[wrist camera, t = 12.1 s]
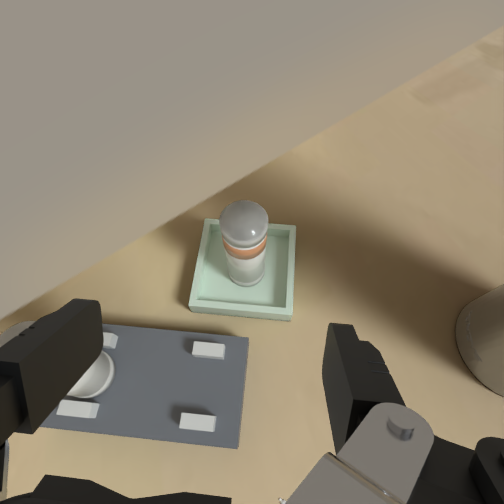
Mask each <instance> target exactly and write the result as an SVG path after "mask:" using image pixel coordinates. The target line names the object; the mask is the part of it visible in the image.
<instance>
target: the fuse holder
mask: <svg viewBox="0 0 504 504" xmlns="http://www.w3.org/2000/svg"><path fill="white" fill-rule="evenodd" d="M102 327H103V337H104V343H103V348H102V351H104V352H106V353H108V354H109V355H110V356H111V357H112V358H113V360H114V362H115V365H116V374H115V378H114V380H113V382H112V384H111V386H110V387H109V388H108V389H107V390H106V391H105V392H104V393H103V394H101V395H99V396H97V397H95V398H89V399H87V398H79V397H75V396H69V395H66V396H65V397H64V398H63V399H62V401H61V402H60V403H59V404H58V405H57V406H56V408H55V409H54V410H53V411H52V412H51V413H50V415H49V416H48V417H47V418H46V419H45V421H44V422H43V423H42V424H41V425H40V426H39V427H46V428H55V429H64V430H73V431H82V432H90V433H99V434H108V435H117V436H126V437H135V438H143V439H152V440H161V441H170V442H179V443H188V444H196V445H205V446H214V447H223V448H232V449H238V447H239V438H240V428H241V418H242V408H243V398H244V388H245V378H246V368H247V358H248V348H249V338H247V337H237V336H226V335H216V334H206V333H195V332H185V331H174V330H164V329H154V328H143V327H133V326H122V325H112V324H102Z"/></svg>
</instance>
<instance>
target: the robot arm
mask: <svg viewBox="0 0 504 504" xmlns="http://www.w3.org/2000/svg"><path fill="white" fill-rule="evenodd" d="M456 341H457V345H458V348H459V352H460V354H461V356H462V358H463V360H464V362H465V364H466V365H467V366H468V368H469V369H470V371H471V372H472V373H473V374H474V375H475V376H476V377H477V378H478V379H479V380H480V381H481V382H482V383H483V384H484V385H485V386H487V387H488V388H489V389H491V390H492V391H494V392H495V393H497V394H499V395H501V396H503V397H504V284H503V285H501V286H499V287H497V288H495V289H493V290H492V291H490V292H488V293H486V294H484V295H482V296H481V297H479V298H477V299H475V300H473V301H472V302H470V303H469V304H468V305H466V306H465V308H464V309H463V310H462V311H461V313H460V315H459V317H458V319H457V324H456ZM103 343H104V337H103V327H102V316H101V307H100V304H99V302H98V301H96V300H86V299H73V300H71V301H70V302H69V303H67V304H66V305H65V306H63V307H62V308H61V309H59V310H58V311H56V312H53V313H51V314H49V315H46V316H44V317H42V318H40V319H39V320H37V321H36V322H34V323H33V324H32V325H30V326H29V328H26V329H25V330H23V331H22V332H21V333H19V335H18V336H15V337H14V338H12V339H11V340H10V341H8V342H7V343H5V344H4V345H3V346H1V347H0V504H231V499H232V498H228V497H220V496H212V495H204V494H196V493H188V492H181V493H174V494H167V495H159V496H152V497H145V498H137V499H132V498H128V497H125V496H123V495H121V494H119V493H117V492H114V491H112V490H110V489H108V488H106V487H104V486H101V485H99V484H97V483H95V482H93V481H91V480H85V479H77V478H69V477H61V476H53V475H45V476H44V477H43V479H42V480H41V481H40V483H39V484H38V486H37V487H36V488H35V490H34V491H33V492H31V493H26V494H22V495H18V496H14V497H11V498H8V499H6V497H7V480H8V462H9V443H8V438H9V437H10V436H11V435H12V433H13V432H17V433H26V434H33V433H34V432H35V431H36V430H37V429H38V428H39V426H40V425H41V424H42V423H43V422H44V421H45V419H46V418H47V417H48V416H49V415H50V413H51V412H52V411H53V410H54V409H55V408H56V406H57V405H58V404H59V403H60V402H61V401H62V399H63V398H64V397H65V396H66V395H67V394H68V392H69V391H70V390H71V389H72V388H73V387H74V385H75V384H76V383H77V382H78V381H79V380H80V378H81V377H82V376H83V375H84V374H85V372H86V371H87V370H88V369H89V368H90V367H91V365H92V364H93V363H94V362H95V361H96V360H97V358H98V357H99V356H100V354H101V351H102V348H103ZM322 379H323V385H324V391H325V396H326V402H327V408H328V413H329V419H330V424H331V430H332V435H333V441H334V446H335V452H336V456H335V455H333V454H332V453H330V452H328V453H326V454H325V455H324V456H323V457H322V458H321V459H320V460H319V461H318V463H317V464H316V465H315V466H314V468H313V469H312V470H311V471H310V473H309V474H308V475H307V476H306V478H305V479H304V480H303V481H302V483H301V484H300V485H299V486H298V488H297V489H296V490H295V491H294V493H293V494H292V495H291V496H290V498H289V499H288V500H287V501H286V503H285V504H504V439H501V438H496V437H486V438H482V439H481V440H479V441H478V443H477V445H476V448H475V451H474V450H471V449H469V448H466V447H463V446H460V445H457V444H454V443H452V442H449V441H446V440H444V439H441V438H439V437H437V436H435V435H434V434H433V431H432V429H431V427H430V425H429V424H428V423H427V422H426V420H425V419H424V418H423V417H421V416H420V415H419V414H418V413H416V412H415V411H413V410H411V409H409V408H407V407H406V405H405V403H404V401H403V399H402V397H401V395H400V393H399V391H398V389H397V387H396V385H395V383H394V380H393V378H392V376H391V374H389V370H388V368H387V366H386V365H385V362H384V360H383V358H382V356H381V353H380V351H379V350H377V349H376V348H375V347H374V346H373V345H372V344H371V343H370V342H369V341H360V340H359V339H358V336H357V334H356V332H355V329H354V327H353V325H349V324H338V323H329V326H328V331H327V337H326V344H325V351H324V357H323V365H322Z"/></svg>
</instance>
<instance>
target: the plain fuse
mask: <svg viewBox="0 0 504 504" xmlns="http://www.w3.org/2000/svg"><path fill="white" fill-rule="evenodd" d="M34 322H36V321H25V322H21V323H18V324H16V325H14V326H12V327H10V328H9V329H7V330H6V331H5V332H3V333H2V334H1V335H0V347H1V346H3V345H4V344H5V343H7V342H8V341H10V340H11V339H12V338H14V337H15V336H18V335H19V333H21V332H22V331H23V330H25V329H26V328H29V326H30V325H32V324H33V323H34ZM115 374H116V365H115V362H114V360H113V358H112V357H111V356H110V355H109V354H108V353H106V352H104V351H101V354H100V356H99V357H98V358H97V360H96V361H95V362H94V363H93V364H92V365H91V367H90V368H89V369H88V370H87V371H86V372H85V374H84V375H83V376H82V377H81V378H80V380H79V381H78V382H77V383H76V384H75V385H74V387H73V388H72V389H71V390H70V391H69V392H68V394H67V395H69V396H75V397H79V398H87V399H89V398H95V397H97V396H99V395H101V394H103V393H104V392H105V391H106V390H107V389H108V388H109V387H110V386H111V384H112V382H113V380H114V378H115Z"/></svg>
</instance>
